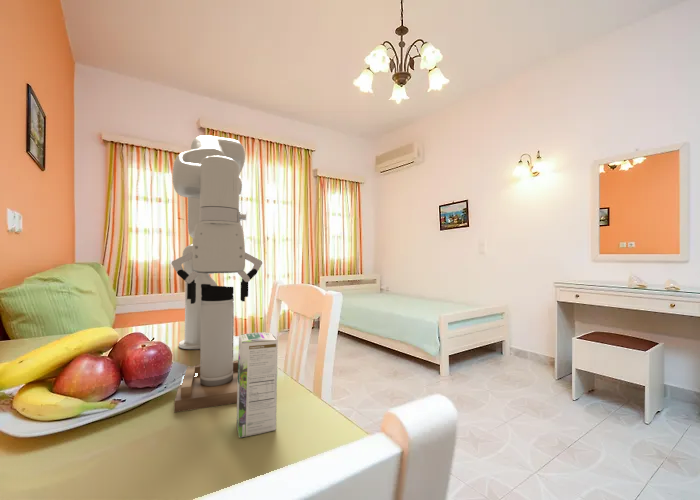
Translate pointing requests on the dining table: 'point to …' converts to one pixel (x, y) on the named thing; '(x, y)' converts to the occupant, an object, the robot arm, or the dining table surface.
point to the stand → (204, 391)
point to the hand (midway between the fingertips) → (218, 301)
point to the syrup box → (257, 384)
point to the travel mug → (216, 335)
